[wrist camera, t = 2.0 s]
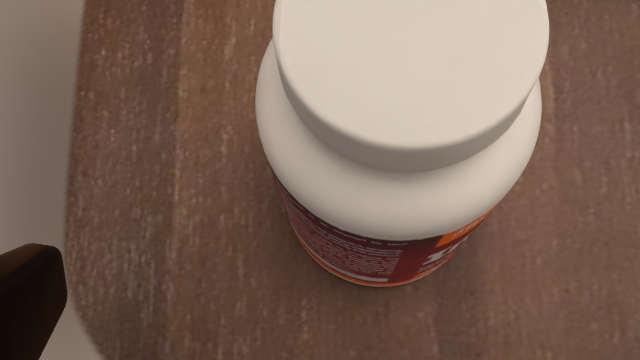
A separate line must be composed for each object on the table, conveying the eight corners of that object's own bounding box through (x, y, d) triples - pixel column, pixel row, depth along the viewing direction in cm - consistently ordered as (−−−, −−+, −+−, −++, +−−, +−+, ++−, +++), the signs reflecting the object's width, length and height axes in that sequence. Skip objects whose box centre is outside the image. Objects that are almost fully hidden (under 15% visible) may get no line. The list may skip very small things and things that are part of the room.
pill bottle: (439, 317, 19) (543, 258, 9) (261, 252, 20) (163, 127, 10) (493, 144, 21) (635, -79, 10) (325, 91, 22) (301, -164, 11)
